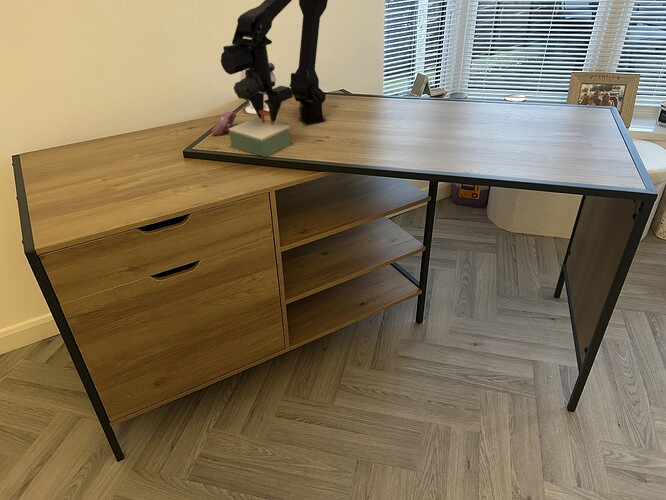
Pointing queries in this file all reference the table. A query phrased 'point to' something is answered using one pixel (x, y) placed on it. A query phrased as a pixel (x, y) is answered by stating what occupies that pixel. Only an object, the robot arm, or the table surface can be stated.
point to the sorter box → (261, 143)
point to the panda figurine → (250, 108)
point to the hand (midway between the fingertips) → (267, 119)
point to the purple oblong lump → (224, 123)
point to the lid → (259, 127)
